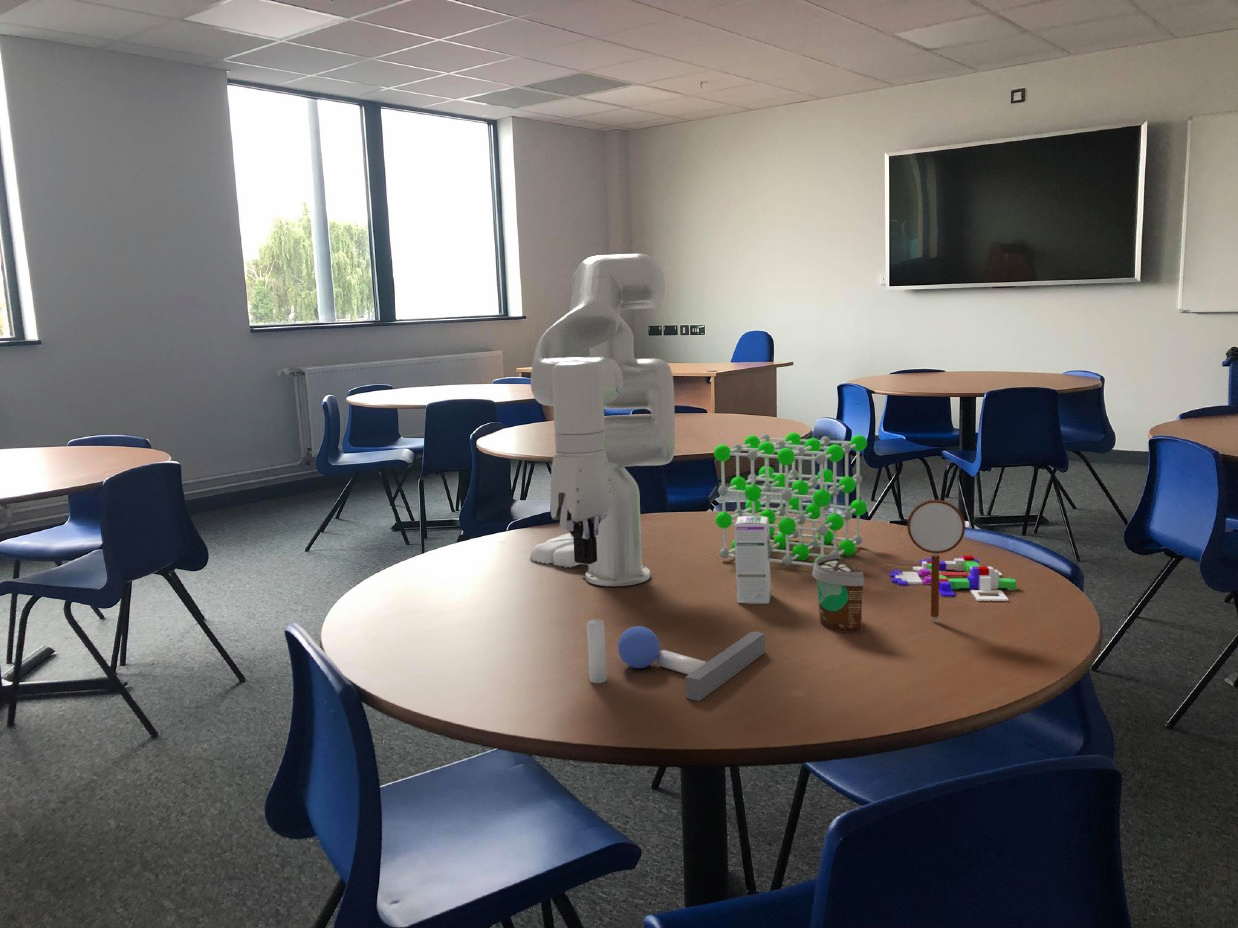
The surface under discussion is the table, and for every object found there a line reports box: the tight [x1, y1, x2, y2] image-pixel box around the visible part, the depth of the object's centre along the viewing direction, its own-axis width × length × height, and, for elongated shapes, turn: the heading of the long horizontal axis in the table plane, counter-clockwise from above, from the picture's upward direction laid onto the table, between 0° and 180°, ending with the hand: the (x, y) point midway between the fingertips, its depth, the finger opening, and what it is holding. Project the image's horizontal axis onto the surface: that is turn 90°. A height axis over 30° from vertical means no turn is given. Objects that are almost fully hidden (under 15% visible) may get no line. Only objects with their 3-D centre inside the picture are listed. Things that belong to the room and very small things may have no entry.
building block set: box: [888, 555, 1017, 602], centre depth 171 cm, size 25×20×4 cm
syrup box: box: [733, 516, 772, 605], centre depth 164 cm, size 6×6×14 cm
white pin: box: [656, 649, 708, 676], centre depth 133 cm, size 2×2×8 cm
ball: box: [617, 625, 660, 669], centre depth 135 cm, size 6×6×6 cm
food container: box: [811, 554, 865, 633], centre depth 150 cm, size 12×6×10 cm, turn 5°
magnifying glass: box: [906, 499, 966, 623], centre depth 148 cm, size 9×2×20 cm, turn 71°
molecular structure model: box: [713, 431, 868, 567], centre depth 192 cm, size 24×25×24 cm
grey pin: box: [586, 618, 608, 684], centre depth 130 cm, size 2×2×8 cm
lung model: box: [529, 532, 581, 569], centre depth 201 cm, size 7×17×25 cm
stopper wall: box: [685, 631, 766, 702], centre depth 131 cm, size 2×20×3 cm, turn 146°
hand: (585, 561), depth 143 cm, fingers closed
